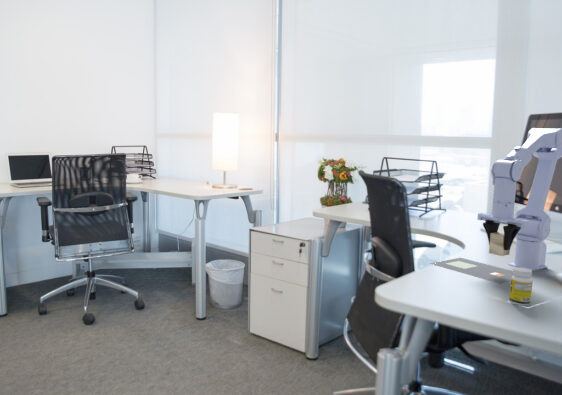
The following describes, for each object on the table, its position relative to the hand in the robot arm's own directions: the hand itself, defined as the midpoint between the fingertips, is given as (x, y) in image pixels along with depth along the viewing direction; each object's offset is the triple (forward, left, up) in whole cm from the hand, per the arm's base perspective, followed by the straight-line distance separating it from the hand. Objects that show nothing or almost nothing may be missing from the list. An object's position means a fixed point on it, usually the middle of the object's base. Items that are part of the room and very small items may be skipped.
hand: (499, 248), depth 143 cm
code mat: (0, -6, -8) cm, 10 cm away
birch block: (0, 0, -2) cm, 2 cm away
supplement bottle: (+18, +17, -8) cm, 26 cm away
